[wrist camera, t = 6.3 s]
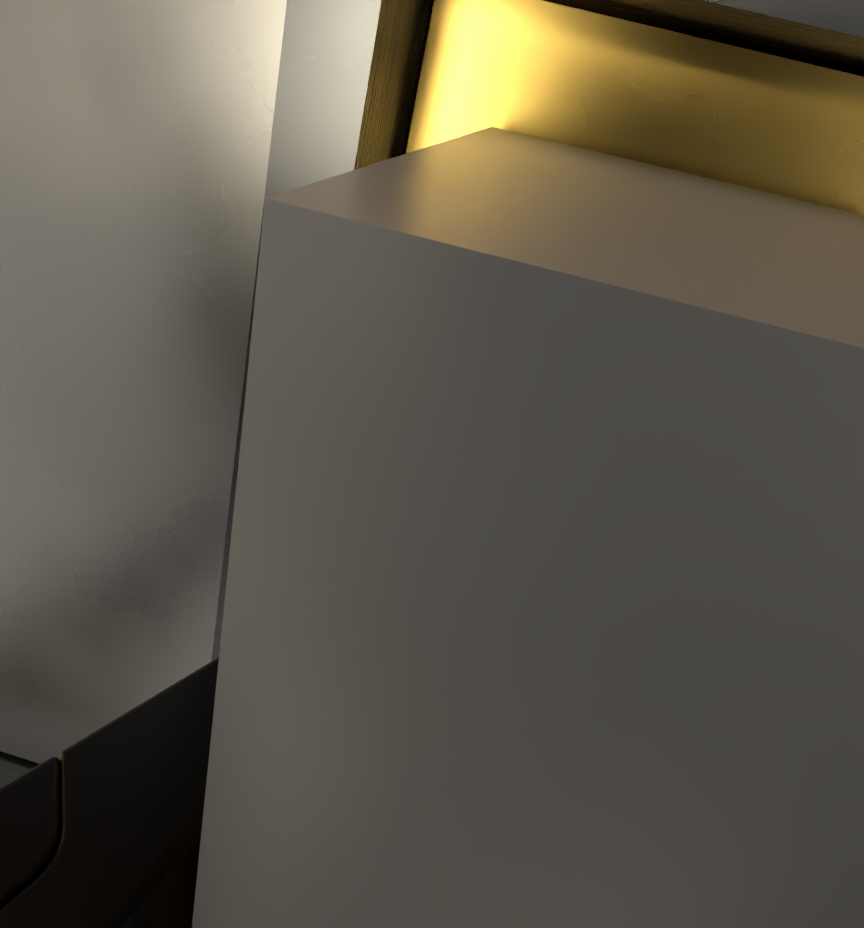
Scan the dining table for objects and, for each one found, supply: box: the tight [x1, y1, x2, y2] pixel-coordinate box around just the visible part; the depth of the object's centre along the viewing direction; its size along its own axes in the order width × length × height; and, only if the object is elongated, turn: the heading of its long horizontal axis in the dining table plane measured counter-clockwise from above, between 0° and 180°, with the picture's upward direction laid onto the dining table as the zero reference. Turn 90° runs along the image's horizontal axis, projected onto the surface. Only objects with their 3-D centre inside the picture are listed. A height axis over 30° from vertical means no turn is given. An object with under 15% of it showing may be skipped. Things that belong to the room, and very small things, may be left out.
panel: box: [192, 127, 864, 928], centre depth 7 cm, size 10×4×6 cm, turn 168°
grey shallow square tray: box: [0, 0, 864, 787], centre depth 10 cm, size 14×15×2 cm
